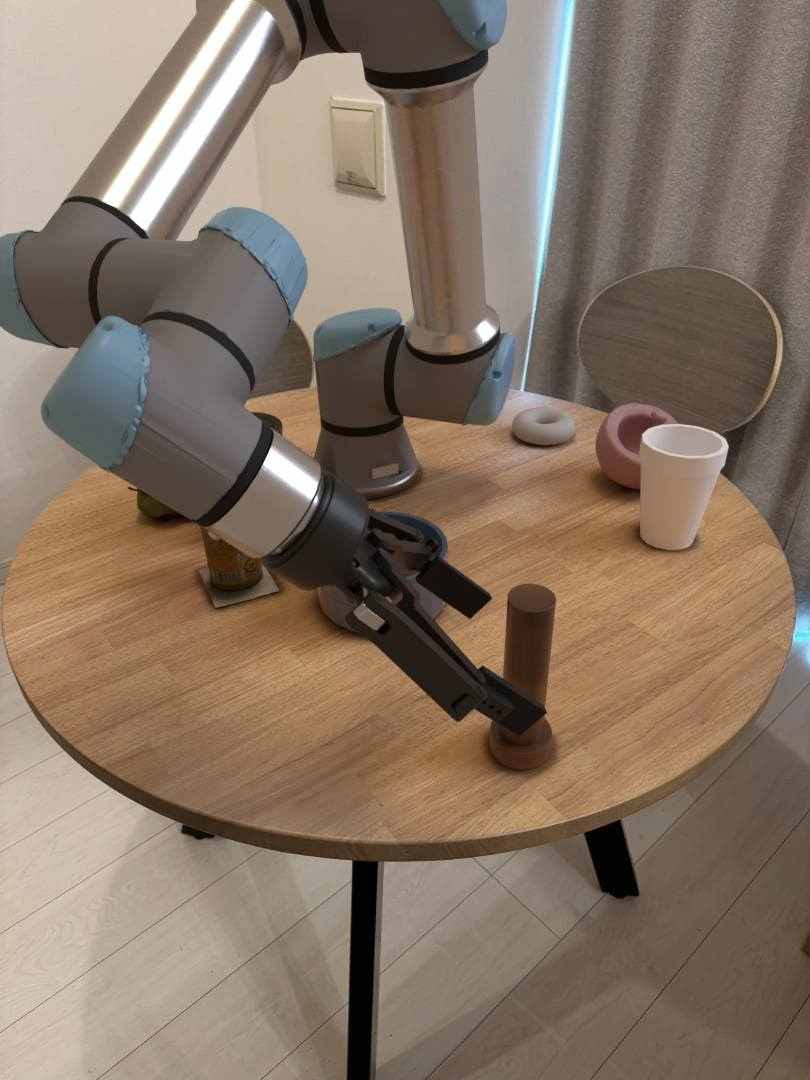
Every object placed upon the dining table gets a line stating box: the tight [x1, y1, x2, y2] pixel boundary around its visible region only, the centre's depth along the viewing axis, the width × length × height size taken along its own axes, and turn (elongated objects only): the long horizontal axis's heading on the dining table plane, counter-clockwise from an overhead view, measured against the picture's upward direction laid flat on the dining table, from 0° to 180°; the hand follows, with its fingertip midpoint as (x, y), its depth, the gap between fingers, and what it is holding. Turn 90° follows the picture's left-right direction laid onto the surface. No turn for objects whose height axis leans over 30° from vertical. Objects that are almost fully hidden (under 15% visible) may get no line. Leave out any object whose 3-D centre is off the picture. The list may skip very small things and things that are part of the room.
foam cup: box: [639, 423, 730, 551], centre depth 88 cm, size 10×9×13 cm
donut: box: [511, 406, 577, 446], centre depth 117 cm, size 10×4×10 cm
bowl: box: [317, 511, 449, 632], centre depth 80 cm, size 14×14×7 cm
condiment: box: [198, 526, 280, 608], centre depth 83 cm, size 7×8×12 cm
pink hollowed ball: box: [595, 402, 679, 490], centre depth 100 cm, size 12×12×12 cm
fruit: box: [127, 486, 181, 520], centre depth 99 cm, size 9×9×8 cm
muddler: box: [489, 583, 557, 771], centre depth 59 cm, size 5×5×16 cm
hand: (503, 658), depth 58 cm, fingers open, 13 cm apart
